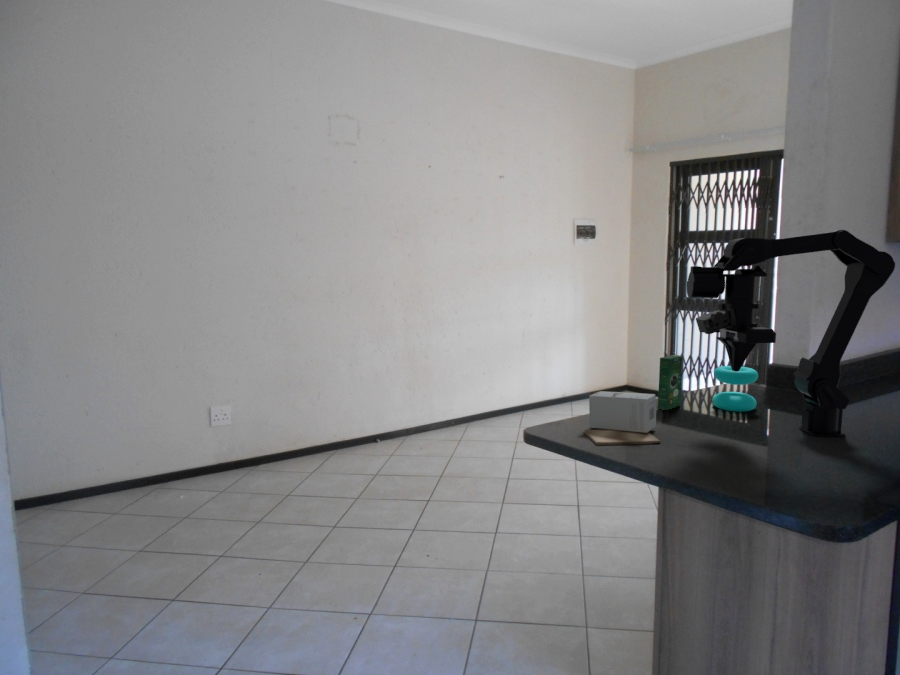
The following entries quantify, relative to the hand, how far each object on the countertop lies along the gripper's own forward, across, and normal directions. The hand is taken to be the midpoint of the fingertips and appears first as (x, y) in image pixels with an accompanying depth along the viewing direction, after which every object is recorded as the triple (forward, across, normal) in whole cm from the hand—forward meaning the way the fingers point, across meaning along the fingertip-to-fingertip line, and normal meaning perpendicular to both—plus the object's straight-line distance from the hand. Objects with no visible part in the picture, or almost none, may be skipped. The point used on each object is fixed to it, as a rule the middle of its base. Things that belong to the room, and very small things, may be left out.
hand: (735, 371), depth 130 cm
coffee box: (+13, -20, -5) cm, 25 cm away
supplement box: (+9, +1, -18) cm, 20 cm away
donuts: (+13, -19, +11) cm, 26 cm away
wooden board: (+13, +4, -26) cm, 29 cm away
